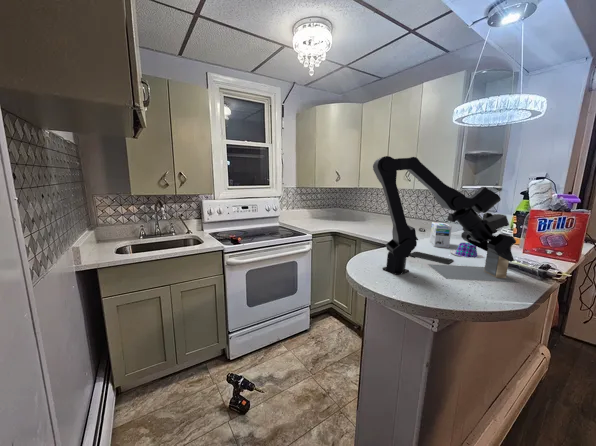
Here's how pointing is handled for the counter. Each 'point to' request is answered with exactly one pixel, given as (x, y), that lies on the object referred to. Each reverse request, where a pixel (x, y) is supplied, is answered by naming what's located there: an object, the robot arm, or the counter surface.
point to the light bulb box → (440, 234)
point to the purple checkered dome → (466, 250)
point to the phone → (431, 257)
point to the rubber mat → (467, 273)
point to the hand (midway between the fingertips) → (501, 256)
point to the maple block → (496, 265)
